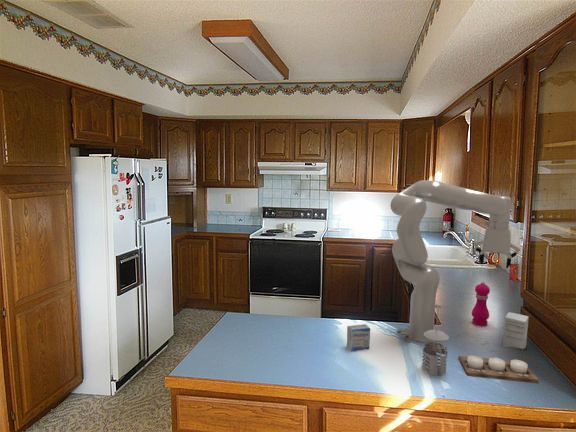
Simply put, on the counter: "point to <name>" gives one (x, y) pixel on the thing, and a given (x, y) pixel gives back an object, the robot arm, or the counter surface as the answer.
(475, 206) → the robot arm
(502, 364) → the button
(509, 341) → the supplement box
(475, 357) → the three-pip button
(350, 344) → the medicine box
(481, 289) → the pepper mill
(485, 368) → the button panel
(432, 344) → the french press
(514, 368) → the button
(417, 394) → the counter surface
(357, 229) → the counter surface
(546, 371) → the counter surface
